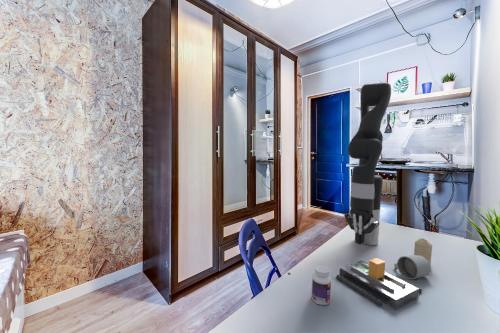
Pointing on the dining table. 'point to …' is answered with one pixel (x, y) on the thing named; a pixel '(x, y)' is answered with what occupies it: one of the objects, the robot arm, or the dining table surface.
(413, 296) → the panel
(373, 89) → the robot arm
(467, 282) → the dining table surface
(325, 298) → the pill bottle
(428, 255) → the candle
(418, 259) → the ceramic mug
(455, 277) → the dining table surface
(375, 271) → the lever
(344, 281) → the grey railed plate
